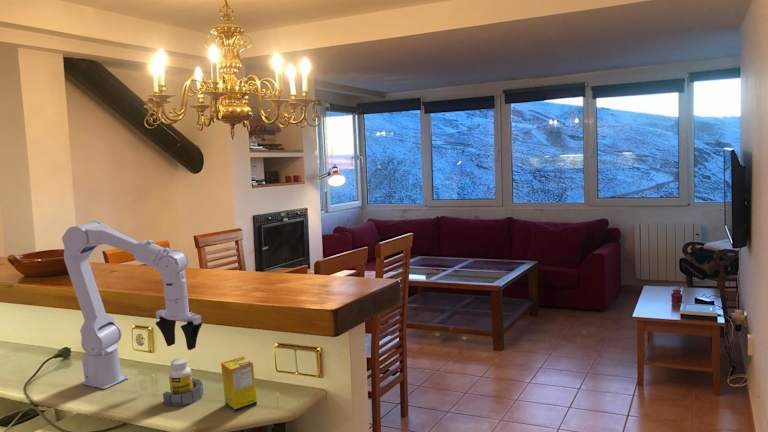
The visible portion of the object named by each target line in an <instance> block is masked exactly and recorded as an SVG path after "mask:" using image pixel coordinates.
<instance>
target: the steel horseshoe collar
mask: <svg viewBox="0 0 768 432" xmlns="http://www.w3.org/2000/svg"><path fill="white" fill-rule="evenodd" d="M192 385H193V389H191V390H189V391H185V392H181V393H171V391H165V392H163V393H162V399H163V405H164V406H166V407H167V406H168V407H170V408H173V407H184V406H188V405H191V404H195V402H198V401H199V400H201V399H202V398H203V396H204V384H203V382H202V380H201V379H200V378H199V379H198V378H193V377H192Z"/></svg>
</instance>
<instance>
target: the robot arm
mask: <svg viewBox="0 0 768 432" xmlns="http://www.w3.org/2000/svg"><path fill="white" fill-rule="evenodd" d="M61 240H62V244H63V248H64V249H63V260H64V263H65V266H66V269H67V273H68V275H69V279H70V281H71V285H72V287H73V290H74V293H75V296H76V299H77V302H78V305H79V307H80V311H81V314H82V318H83V320H84V321H83V323H82V325H81V328H80V330H79V332H80V336H81V341H80V343H81V348H82V350H83V351H84V354H83V357H82V370H83V375H84V376H83V377H84V381H82V383H81V384H82V385H86V386H89V387H94V388H98V389H102V390H105V389H108V388H110V387H113V386H115V385H116V384H119V383H121V382H123V381H125V380H128V379H129V377H130V376H129V375H124V374H122V371H121V363H120V356H119V355H120V354H119V348H118V347H119V342H120V340H121V338H122V330H121V328H120V327H119V325H118V324H117V323H116V321H115V318H114V317H113V316H111V315H110V314H108V313H106V310H105V309H106V308H105V307H104V303H103V301H102V297H101V295H100V291H99V289H98V284H97V281H96V280H95V276H94V273H93V269H92V267H91V264H90V261H89V258H90V256H91V254H92V253H93V251H95V249H96V248H97V247H98V246H102V245H107V246H111V247H113V248H116V249H117V250H121V251H123V252H124V251H125V252H127V253H130V254H132V255H133V258H134V259H135V261H138V262H139V263H142V264H144V265H147V266H149V267H151V268H153V269H155V270H157V272H158V273H159V274H160V276H161V279H162V280H161V281H162V284H163V285H162V287H163V295H164V296H163V297H164V303H165V309H159V310H156V311H155V317H156V319H157V321H156V322H155V325H156V326H157V328H158V329H159V330H160V332H161V334H162V336H163V338H164V341H165V343H166V346H167V347H171V346H173V345H175V344H176V322H183V323H185V324H181V325H180V328H181V330H182V333H183V334H184V335H183V336H184V337H185V345H186V348H187V350H188V351H191V350H194V349H196V347H197V346H196V345H197V339H198V335H199V332H200V330H201V328H202V325H203V321H202V315H200V314H197V313H194V312H192V311H191V312H189V309H190V308H189V307H190V306H189V297H188V295H189V294H188V286H187V276H186V269H187V268H188V265H189V258H188V256H187V255H186V253H184V252H183V251H181V250H180V249H174V250H171V249H170V247H163V246H160V245H158V244H155V242H154V240H152V239H148V240H145V239H144V240H140V241H138V240H136V239H133V238H132V237H130V236H127V235H126V234H123V233H121V232H119V231H117V230H115V229H113V228H111V227H110V225H109V224H106V223H102V222H101V221H97V220H92V221H89V222H86V223H81V224H79V225H75V226H74V225H73V226H70V227H68V229H66V231H65V233H64V234H63V235H62V237H61ZM158 319H159V320H158Z"/></svg>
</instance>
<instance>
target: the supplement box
mask: <svg viewBox="0 0 768 432" xmlns="http://www.w3.org/2000/svg"><path fill="white" fill-rule="evenodd" d="M220 366H221V377H222V383H223V384H222V385H223V386H222V387H223V392H224V393H223V394H224V402H225V406H227V407H228V408H229V409H231V410H232V411H233V412H234V413H236V412H239V411H242V410H244V409H247V408H250V407H253V406H256V405H257V404H258V403H257V402H258V399H257V392H256V390H257V389H256V381H255V373H254V371H255V370H254V363H253V362H252V361H251V360H249V359H248V358H246V357H245V356H240V357H236V358H233V359H230V360H225V361H222V362H220Z"/></svg>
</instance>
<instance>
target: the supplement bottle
mask: <svg viewBox="0 0 768 432" xmlns="http://www.w3.org/2000/svg"><path fill="white" fill-rule="evenodd" d="M192 378H193V377H192V370H191V368H190V367H189V366H188V360H187V358H184V357H183V358H175V359H173V360H171V361H170V370H169V371H168V379H169V381H168V382H169V390H170V391H169V392H171V393H181V392H185V391H189V390H191V389H193V385H192Z"/></svg>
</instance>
